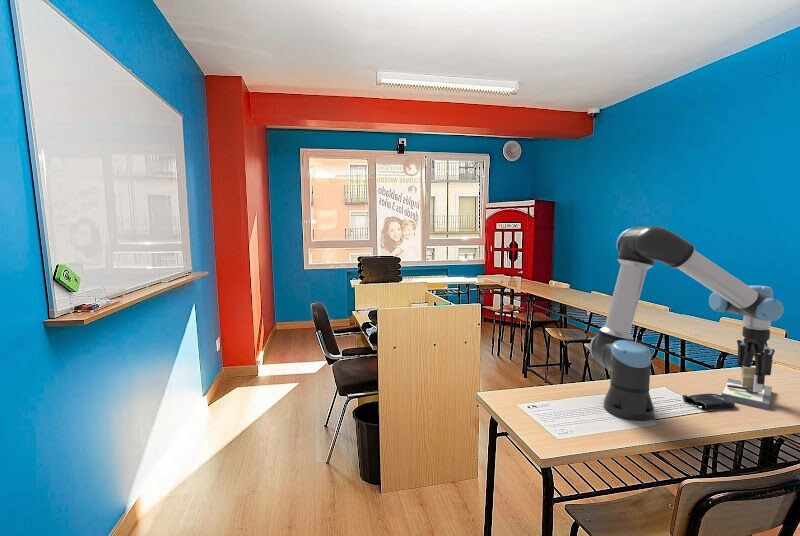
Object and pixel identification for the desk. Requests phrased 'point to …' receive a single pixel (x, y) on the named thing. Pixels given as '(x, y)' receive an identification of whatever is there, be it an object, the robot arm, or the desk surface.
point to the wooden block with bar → (747, 380)
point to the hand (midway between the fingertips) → (751, 389)
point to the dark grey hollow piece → (710, 400)
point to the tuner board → (747, 395)
